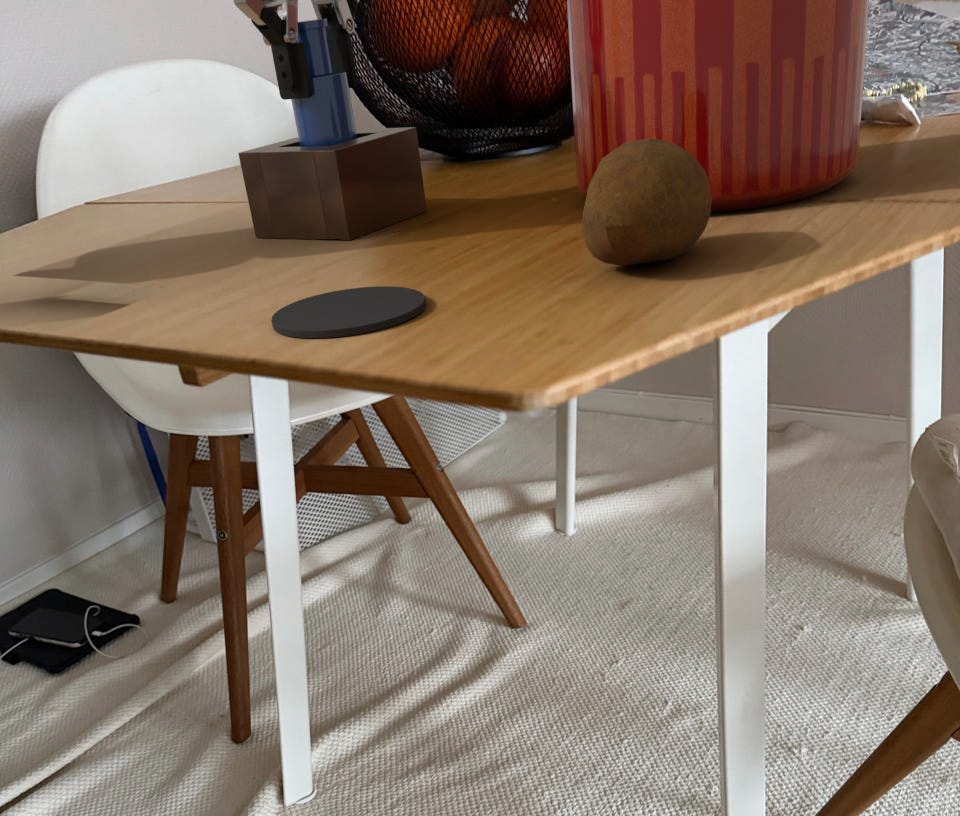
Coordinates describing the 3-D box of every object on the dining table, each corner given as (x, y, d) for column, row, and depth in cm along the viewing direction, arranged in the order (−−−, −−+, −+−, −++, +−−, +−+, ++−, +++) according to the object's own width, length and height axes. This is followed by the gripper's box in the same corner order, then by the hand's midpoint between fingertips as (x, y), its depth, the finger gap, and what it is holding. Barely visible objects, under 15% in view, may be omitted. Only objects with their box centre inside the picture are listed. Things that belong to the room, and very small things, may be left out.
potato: (728, 239, 77) (729, 119, 73) (689, 288, 67) (688, 152, 63) (616, 242, 80) (611, 127, 76) (564, 289, 70) (555, 159, 66)
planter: (591, 232, 83) (574, -83, 73) (568, 182, 103) (551, -72, 92) (896, 197, 82) (923, -129, 72) (814, 153, 102) (826, -108, 91)
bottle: (303, 230, 97) (264, 26, 89) (339, 217, 101) (305, 20, 92) (345, 231, 95) (310, 21, 86) (381, 218, 98) (350, 15, 90)
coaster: (240, 332, 70) (238, 324, 70) (341, 290, 77) (339, 283, 76) (360, 343, 65) (358, 335, 64) (456, 297, 71) (455, 289, 71)
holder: (255, 237, 97) (237, 152, 93) (335, 210, 104) (322, 130, 101) (349, 240, 91) (334, 150, 88) (427, 211, 99) (416, 127, 95)
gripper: (312, -163, 90) (350, 81, 100) (157, -165, 79) (216, 111, 88) (383, -179, 87) (415, 76, 96) (230, -184, 75) (284, 107, 85)
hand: (319, 90), depth 92 cm, fingers closed on bottle, 5 cm apart
